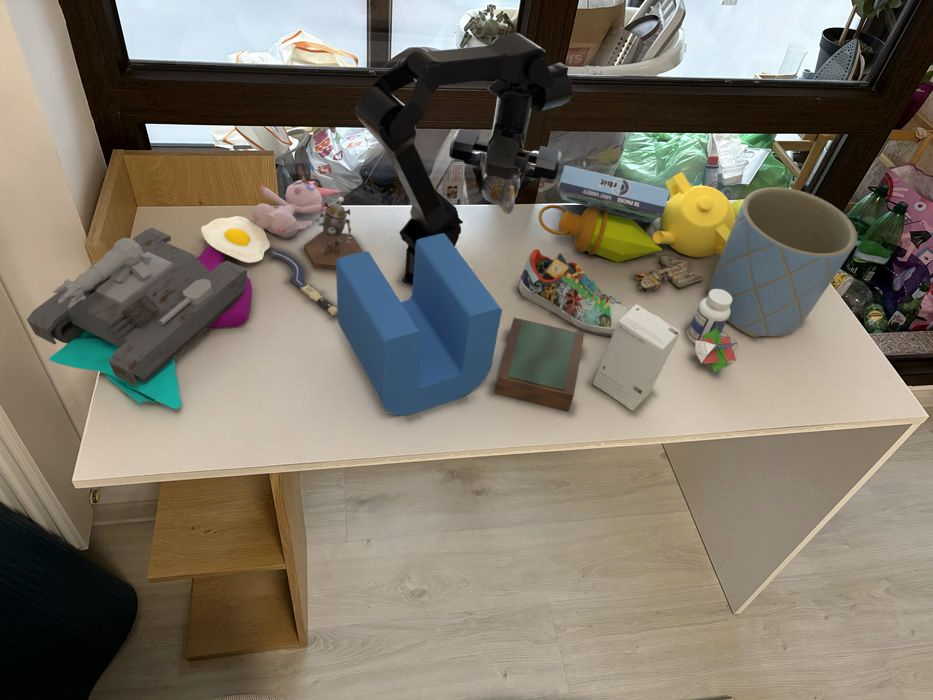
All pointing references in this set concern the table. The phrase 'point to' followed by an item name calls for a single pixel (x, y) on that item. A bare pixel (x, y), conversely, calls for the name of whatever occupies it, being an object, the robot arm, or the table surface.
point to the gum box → (612, 194)
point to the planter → (781, 259)
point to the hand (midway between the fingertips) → (498, 195)
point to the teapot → (695, 219)
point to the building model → (667, 275)
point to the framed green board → (540, 364)
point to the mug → (501, 191)
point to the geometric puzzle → (715, 350)
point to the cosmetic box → (635, 356)
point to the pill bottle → (710, 314)
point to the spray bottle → (242, 307)
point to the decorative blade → (297, 280)
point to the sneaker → (569, 294)
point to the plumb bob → (603, 233)
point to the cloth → (96, 355)
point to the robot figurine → (332, 238)
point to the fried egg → (237, 238)
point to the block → (419, 327)
